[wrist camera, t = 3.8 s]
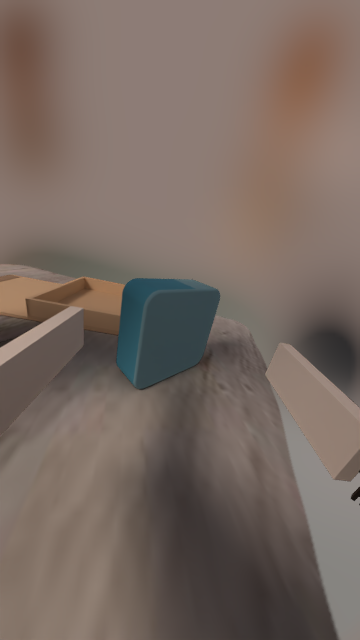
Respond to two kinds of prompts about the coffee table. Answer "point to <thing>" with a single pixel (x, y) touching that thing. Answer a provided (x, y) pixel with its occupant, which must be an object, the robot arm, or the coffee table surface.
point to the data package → (163, 327)
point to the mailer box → (63, 300)
